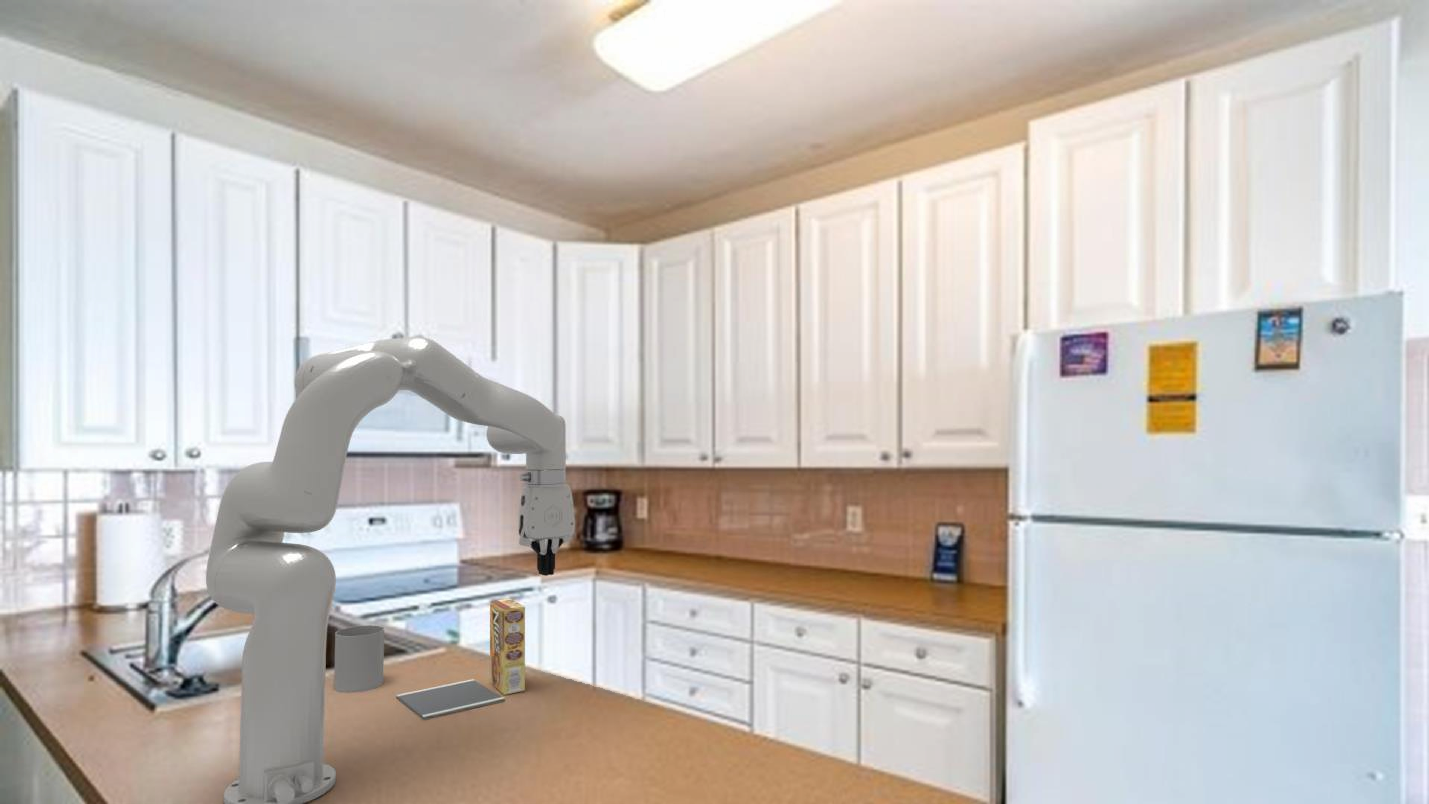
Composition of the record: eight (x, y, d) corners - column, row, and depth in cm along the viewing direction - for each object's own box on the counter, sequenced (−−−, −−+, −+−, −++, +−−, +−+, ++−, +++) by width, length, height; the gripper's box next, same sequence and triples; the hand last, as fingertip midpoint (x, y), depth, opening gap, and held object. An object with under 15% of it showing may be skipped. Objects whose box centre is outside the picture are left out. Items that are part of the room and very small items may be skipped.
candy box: (526, 691, 138) (526, 605, 139) (502, 696, 136) (504, 608, 136) (510, 679, 145) (511, 597, 146) (487, 683, 143) (488, 600, 144)
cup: (334, 681, 144) (336, 628, 144) (382, 676, 147) (383, 623, 148) (333, 695, 136) (334, 638, 137) (383, 688, 140) (384, 633, 140)
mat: (504, 701, 133) (505, 698, 133) (423, 719, 124) (423, 716, 124) (473, 681, 144) (473, 679, 144) (396, 697, 135) (396, 695, 135)
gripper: (518, 481, 140) (518, 582, 139) (589, 477, 149) (590, 572, 149) (501, 479, 145) (501, 576, 145) (570, 476, 155) (570, 567, 154)
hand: (546, 574), depth 147 cm, fingers closed
